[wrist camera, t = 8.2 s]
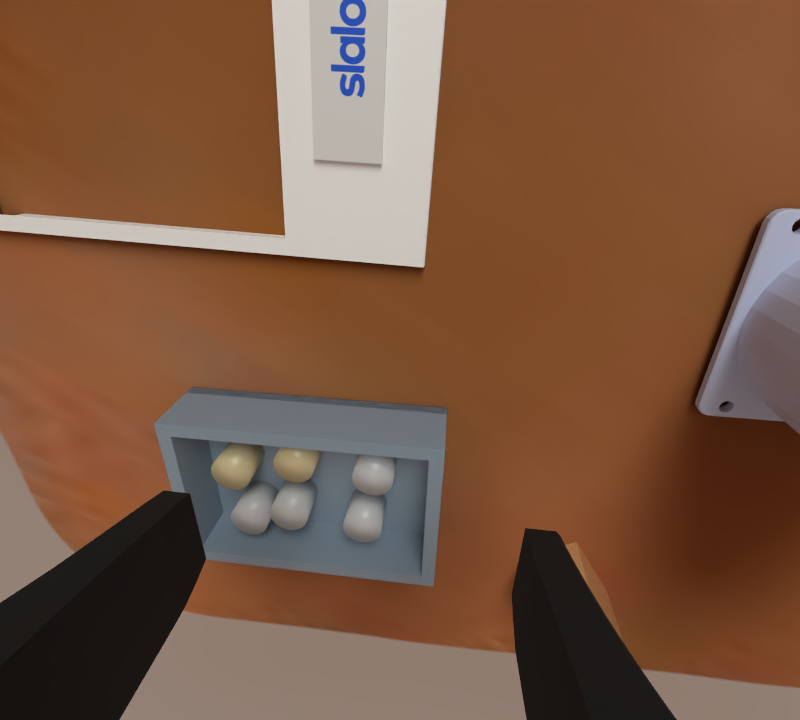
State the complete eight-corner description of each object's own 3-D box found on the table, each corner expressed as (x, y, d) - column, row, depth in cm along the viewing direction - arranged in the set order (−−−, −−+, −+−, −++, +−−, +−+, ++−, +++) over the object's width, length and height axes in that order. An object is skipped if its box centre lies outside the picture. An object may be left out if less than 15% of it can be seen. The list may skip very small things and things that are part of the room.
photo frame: (423, 268, 17) (-21, 229, 18) (425, 261, 18) (4, 224, 19) (476, -368, 10) (-232, -355, 11) (474, -323, 11) (-177, -316, 12)
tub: (446, 407, 20) (445, 449, 17) (436, 535, 24) (433, 586, 21) (192, 387, 21) (153, 423, 19) (219, 512, 25) (190, 557, 22)
